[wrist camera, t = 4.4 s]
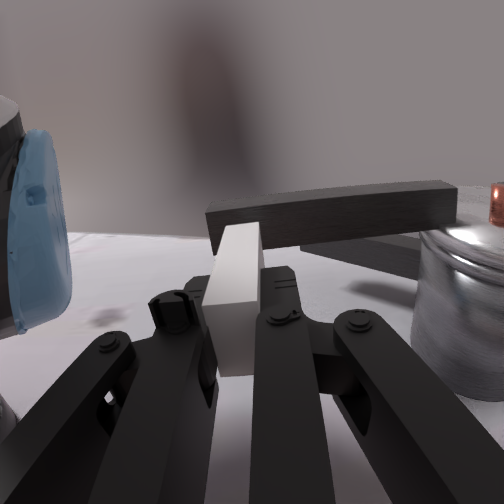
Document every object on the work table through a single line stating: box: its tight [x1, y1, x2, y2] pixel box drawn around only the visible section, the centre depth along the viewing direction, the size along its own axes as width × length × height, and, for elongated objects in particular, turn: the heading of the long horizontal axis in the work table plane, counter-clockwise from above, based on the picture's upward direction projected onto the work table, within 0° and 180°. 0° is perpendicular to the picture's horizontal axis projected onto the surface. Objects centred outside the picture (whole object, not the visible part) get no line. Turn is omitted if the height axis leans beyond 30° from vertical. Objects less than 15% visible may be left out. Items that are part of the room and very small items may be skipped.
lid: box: [205, 180, 504, 270], centre depth 19 cm, size 35×17×4 cm, turn 89°
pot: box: [300, 231, 504, 401], centre depth 25 cm, size 26×26×11 cm
